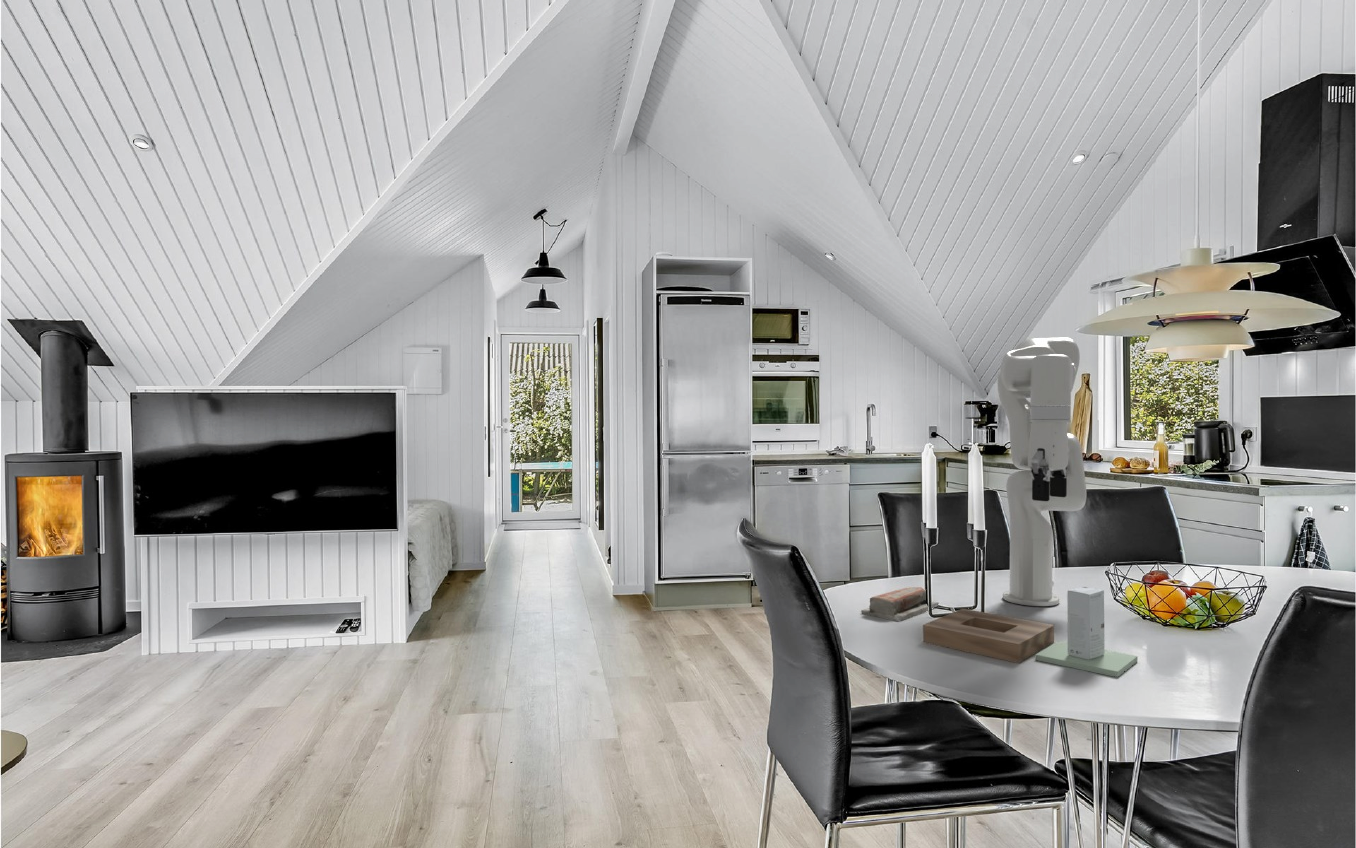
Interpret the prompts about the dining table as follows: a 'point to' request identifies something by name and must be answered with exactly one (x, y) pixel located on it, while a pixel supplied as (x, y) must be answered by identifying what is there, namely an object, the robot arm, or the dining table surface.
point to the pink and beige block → (899, 604)
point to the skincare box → (1085, 622)
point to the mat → (1103, 664)
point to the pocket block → (989, 634)
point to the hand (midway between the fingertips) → (1049, 498)
